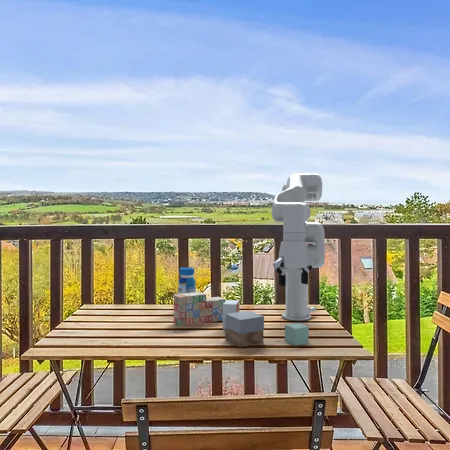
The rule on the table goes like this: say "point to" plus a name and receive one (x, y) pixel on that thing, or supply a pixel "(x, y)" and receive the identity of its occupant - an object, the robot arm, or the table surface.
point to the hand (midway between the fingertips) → (293, 284)
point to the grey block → (244, 322)
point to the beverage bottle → (186, 281)
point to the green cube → (296, 334)
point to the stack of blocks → (197, 309)
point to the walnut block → (243, 337)
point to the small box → (229, 309)
